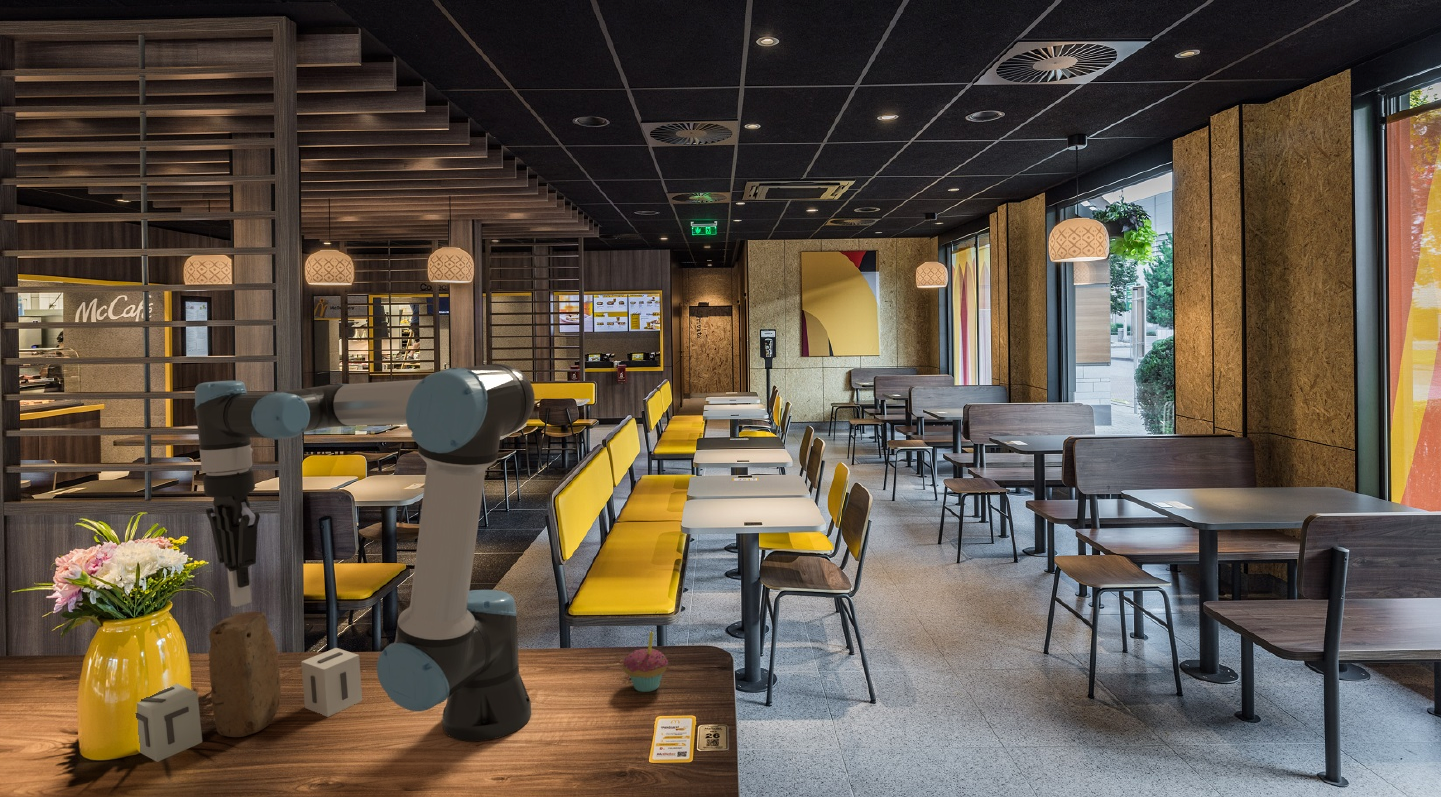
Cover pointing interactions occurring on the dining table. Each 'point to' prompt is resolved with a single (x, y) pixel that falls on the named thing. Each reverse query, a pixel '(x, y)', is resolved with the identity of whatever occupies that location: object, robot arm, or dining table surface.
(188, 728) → the numbered cube seven
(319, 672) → the numbered cube one
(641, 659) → the cupcake
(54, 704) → the dining table surface
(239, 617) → the block
